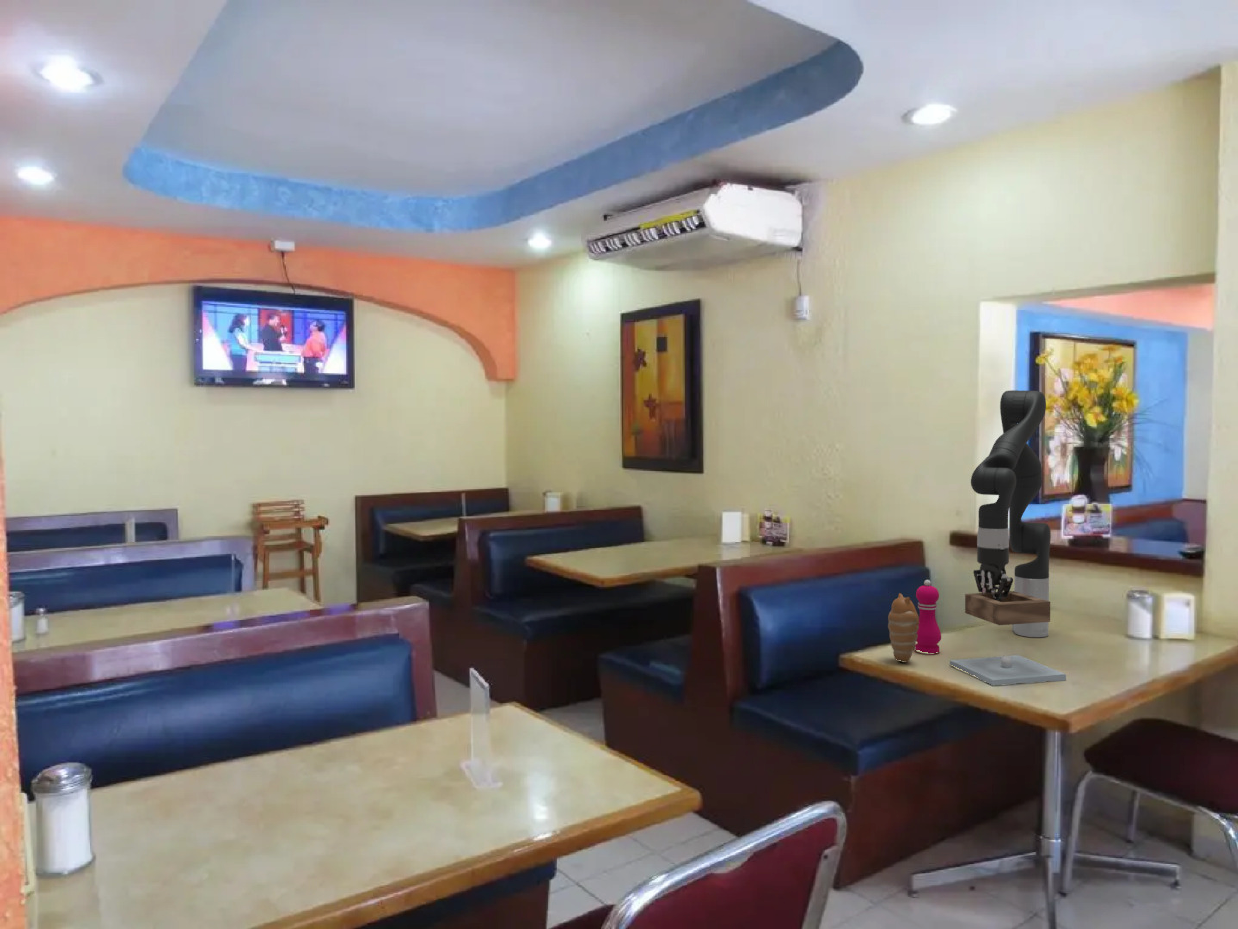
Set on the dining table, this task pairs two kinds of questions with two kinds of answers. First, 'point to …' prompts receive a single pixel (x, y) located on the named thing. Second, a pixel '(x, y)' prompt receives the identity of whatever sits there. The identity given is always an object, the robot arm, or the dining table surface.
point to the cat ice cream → (903, 627)
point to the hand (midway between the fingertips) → (992, 611)
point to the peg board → (1008, 670)
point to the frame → (1008, 608)
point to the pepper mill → (927, 619)
